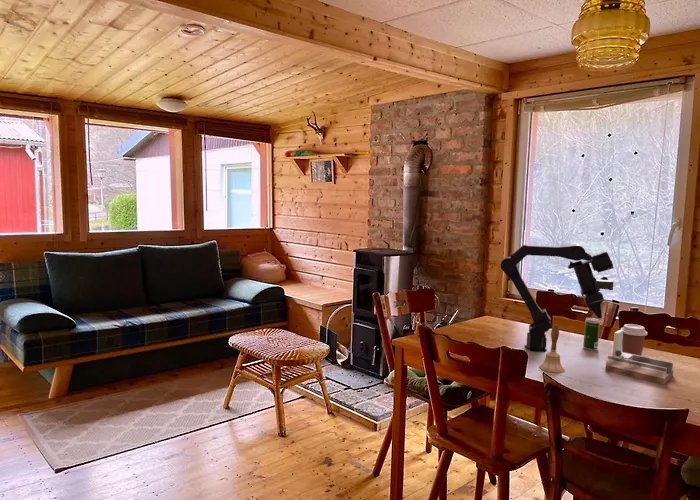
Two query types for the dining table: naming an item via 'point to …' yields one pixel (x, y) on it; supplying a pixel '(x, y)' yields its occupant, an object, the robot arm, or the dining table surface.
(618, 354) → the carriage
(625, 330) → the coffee cup
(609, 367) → the stand
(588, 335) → the beer can
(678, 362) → the dining table surface
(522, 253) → the robot arm
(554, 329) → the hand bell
